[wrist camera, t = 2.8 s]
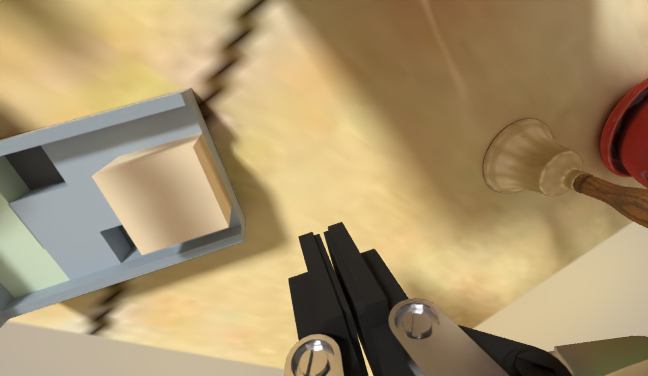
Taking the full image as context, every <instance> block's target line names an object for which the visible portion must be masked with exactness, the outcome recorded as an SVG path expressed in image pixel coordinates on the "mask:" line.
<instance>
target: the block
mask: <svg viewBox="0 0 648 376" xmlns="http://www.w3.org/2000/svg"><path fill="white" fill-rule="evenodd" d="M92 178H93V179H94V181H95V182H96V184H97V186H98V187H99V189H100V190H101V192H102V193H103V195H104V197H105V198H106V200H107V201H108V203H109V205H110V206H111V208H112V209H113V211H114V212H115V214H116V216H117V217H118V219H119V220H120V222H121V223H122V225H123V227H124V228H125V230H126V231H127V233H128V234H129V236H130V238H131V239H132V241H133V242H134V244H135V246H136V247H137V249H138V250H139V252H140V253H141V255H145V254H148V253H151V252H154V251H157V250H160V249H163V248H166V247H169V246H172V245H176V244H179V243H182V242H185V241H188V240H191V239H194V238H197V237H200V236H204V235H207V234H210V233H213V232H216V231H219V230H222V229H225V228H228V227H229V223H230V215H231V207H232V201H231V199H230V197H229V194H228V192H227V190H226V187H225V185H224V183H223V180H222V178H221V176H220V173H219V171H218V169H217V166H216V164H215V161H214V159H213V157H212V154H211V152H210V150H209V147H208V145H207V143H206V140H205V138H204V136H203V133H199V134H196V135H192V136H189V137H185V138H182V139H178V140H175V141H171V142H168V143H164V144H161V145H157V146H154V147H150V148H147V149H143V150H140V151H136V152H133V153H129V154H126V155H122V156H119V157H117V158H116V159H114V160H113V161H112V162H110V163H109V164H108V165H106V166H105V167H104V168H102V169H101V170H99V171H98V172H97V173H95V174H94V175H93V176H92Z"/></svg>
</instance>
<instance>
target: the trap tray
mask: <svg viewBox="0 0 648 376" xmlns="http://www.w3.org/2000/svg"><path fill="white" fill-rule="evenodd" d="M199 133H203V136H204V138H205V140H206V143H207V145H208V147H209V150H210V152H211V154H212V157H213V159H214V161H215V164H216V166H217V169H218V171H219V173H220V176H221V178H222V180H223V183H224V185H225V187H226V190H227V192H228V194H229V197H230V199H231V201H232V207H231V215H230V223H229V227H228V228H225V229H222V230H219V231H216V232H213V233H210V234H207V235H204V236H200V237H197V238H194V239H191V240H188V241H185V242H182V243H179V244H176V245H172V246H169V247H166V248H163V249H160V250H157V251H154V252H151V253H148V254H145V255H141V253H140V252H139V250H138V249H137V247H136V246H135V244H134V242H133V241H132V239H131V238H130V236H129V234H128V233H127V231H126V230H125V228H124V227H123V225H122V223H121V222H120V220H119V219H118V217H117V216H116V214H115V212H114V211H113V209H112V208H111V206H110V205H109V203H108V201H107V200H106V198H105V197H104V195H103V193H102V192H101V190H100V189H99V187H98V186H97V184H96V182H95V181H94V179H93V178H92V176H93V175H94V174H95V173H97V172H98V171H99V170H101V169H102V168H104V167H105V166H106V165H108V164H109V163H110V162H112V161H113V160H114V159H116V158H117V157H119V156H122V155H126V154H129V153H133V152H136V151H140V150H143V149H147V148H150V147H154V146H157V145H161V144H164V143H168V142H171V141H175V140H178V139H182V138H185V137H189V136H192V135H196V134H199ZM244 241H245V217H244V215H243V212H242V210H241V207H240V205H239V203H238V200H237V198H236V195H235V193H234V190H233V188H232V186H231V183H230V181H229V178H228V176H227V174H226V171H225V169H224V166H223V164H222V162H221V159H220V157H219V154H218V152H217V150H216V147H215V145H214V142H213V140H212V137H211V135H210V133H209V130H208V128H207V125H206V123H205V121H204V118H203V116H202V113H201V111H200V109H199V106H198V104H197V101H196V99H195V96H194V94H193V92H192V89H191V88H189V89H186V90H182V91H178V92H174V93H171V94H167V95H163V96H160V97H156V98H152V99H148V100H145V101H141V102H137V103H133V104H130V105H126V106H122V107H119V108H115V109H111V110H107V111H104V112H100V113H96V114H93V115H89V116H85V117H81V118H78V119H74V120H70V121H66V122H63V123H59V124H55V125H52V126H48V127H44V128H40V129H37V130H33V131H29V132H26V133H22V134H18V135H14V136H11V137H7V138H3V139H0V328H1V327H2V326H3V325H4V323H5V322H6V321H7V320H8V319H10V318H13V317H16V316H19V315H22V314H25V313H28V312H31V311H34V310H37V309H40V308H43V307H46V306H49V305H52V304H55V303H59V302H62V301H65V300H68V299H71V298H74V297H77V296H80V295H83V294H86V293H89V292H92V291H95V290H98V289H101V288H104V287H107V286H110V285H113V284H116V283H119V282H122V281H125V280H129V279H132V278H135V277H138V276H141V275H144V274H147V273H150V272H153V271H156V270H159V269H162V268H165V267H168V266H171V265H174V264H177V263H180V262H183V261H186V260H189V259H192V258H195V257H199V256H202V255H205V254H208V253H211V252H214V251H217V250H220V249H223V248H226V247H229V246H232V245H235V244H238V243H241V242H244Z"/></svg>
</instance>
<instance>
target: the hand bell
mask: <svg viewBox="0 0 648 376" xmlns="http://www.w3.org/2000/svg"><path fill="white" fill-rule="evenodd" d="M582 168H583V162H582V159H581V157H580V156H579V155H578V154H577V153H575V152H573V151H571V150H569V149H567V148H564V147H562V146H561V145H559V144H557V143H556V142H555V141H554V138H553V135H552V133H551V131H550V129H549V128H548V127H547V126H546V125H545V124H544V123H543V122H541V121H539V120H536V119H524V120H520V121H517V122H515V123H513V124H511V125H509V126H508V127H506V128H505V129H504V130H503V131H501V132H500V133H499V134H498V136H497V137H496V138H495V139H494V141H493V142H492V143H491V145H490V147H489V149H488V151H487V153H486V156H485V159H484V164H483V173H484V178H485V181H486V182H487V184H488V186H489V187H490V188H492V189H493V190H495V191H497V192H500V193H515V192H519V191H522V190H524V189H525V190H531V191H536V192H539V193H542V194H545V195H548V196H556V195H560V194H563V193H564V192H566V191H568V190H569V189H572V190H575V191H576V192H579V193H583V194H585V195H588V196H590V197H593V198H596V199H599V200H601V201H603V202H606V203H608V204H609V205H611V206H612V207H614V208H615V209H616V210H617V211H619V212H620V213H621V214H622V215H624V216H626V217H627V218H629V219H630V220H632V221H634V222H636V223H638V224H640V225H642V226H644V227H646V228H648V190H647V189H641V188H631V187H623V186H619V185H615V184H612V183H610V182H607V181H605V180H602V179H600V178H597V177H594V176H593V175H590V174H587V173H585V172H582Z"/></svg>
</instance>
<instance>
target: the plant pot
mask: <svg viewBox="0 0 648 376" xmlns="http://www.w3.org/2000/svg"><path fill="white" fill-rule="evenodd" d="M600 151H601V156H602V159H603V162H604V163H605V165H606V167H607V168H608V169H609V170H610V171H611V172H613V173H614V174H616V175H619V176H623V177H634V178H635V179H636V180H637V181H638V182H639V183H641V184H642V185H643V186H645V187H646V188H648V79H646V80H645V81H643V82H641V83H640V84H638V85H637V86H635V87H634V88H633V89H632V90H630V91H629V92H628V93H627V94H626V95H625V96H624V97H623V98H622V99H621V100H620V102H619V103H618V104H617V105H616V107H615V108H614V110H613V111H612V113H611V114H610V116H609V118H608V120H607V122H606V124H605V126H604V129H603V132H602V136H601V142H600Z"/></svg>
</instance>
